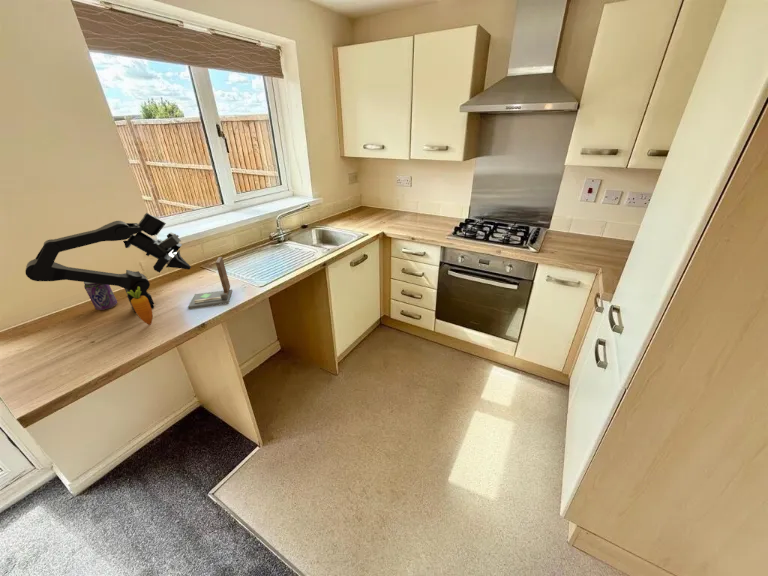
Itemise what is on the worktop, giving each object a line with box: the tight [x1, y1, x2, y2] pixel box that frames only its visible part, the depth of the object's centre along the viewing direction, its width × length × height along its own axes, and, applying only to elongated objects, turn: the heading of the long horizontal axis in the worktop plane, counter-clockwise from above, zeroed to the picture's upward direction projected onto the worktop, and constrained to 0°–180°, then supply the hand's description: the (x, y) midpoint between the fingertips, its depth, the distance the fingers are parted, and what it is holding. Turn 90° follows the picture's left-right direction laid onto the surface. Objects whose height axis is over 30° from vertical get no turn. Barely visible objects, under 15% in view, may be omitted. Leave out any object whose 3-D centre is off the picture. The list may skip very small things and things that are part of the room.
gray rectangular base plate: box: [187, 288, 233, 309], centre depth 130 cm, size 14×10×1 cm
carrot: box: [126, 287, 154, 326], centre depth 112 cm, size 5×5×15 cm
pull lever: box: [194, 256, 231, 302], centre depth 128 cm, size 12×11×14 cm
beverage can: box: [83, 282, 118, 311], centre depth 125 cm, size 7×7×12 cm
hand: (190, 268), depth 127 cm, fingers closed
